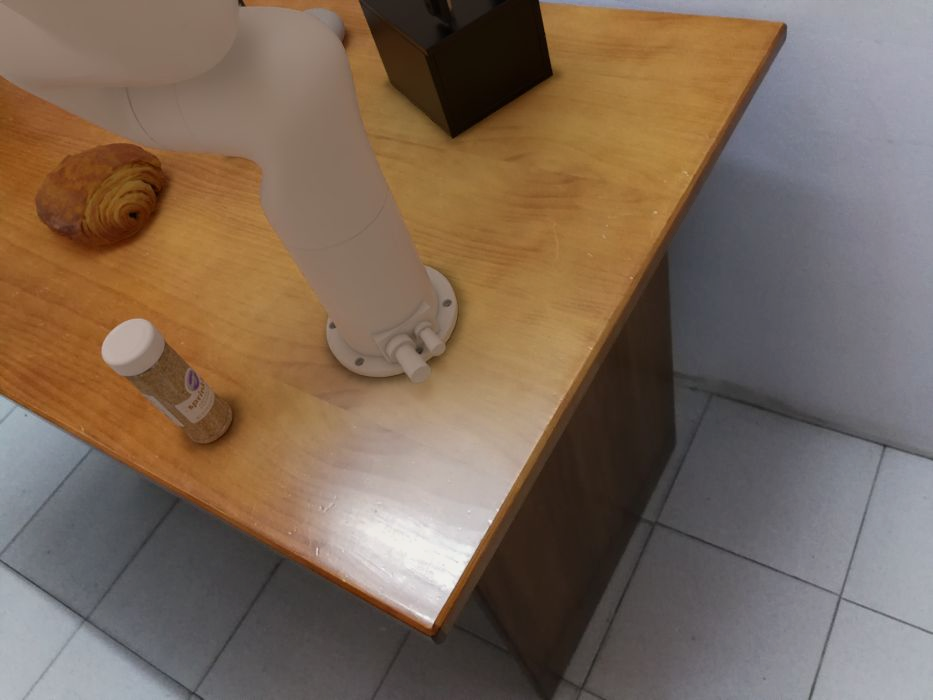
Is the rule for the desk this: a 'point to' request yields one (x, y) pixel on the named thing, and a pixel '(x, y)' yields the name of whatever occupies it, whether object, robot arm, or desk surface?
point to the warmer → (468, 66)
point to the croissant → (101, 193)
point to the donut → (329, 20)
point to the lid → (435, 19)
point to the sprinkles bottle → (166, 380)
